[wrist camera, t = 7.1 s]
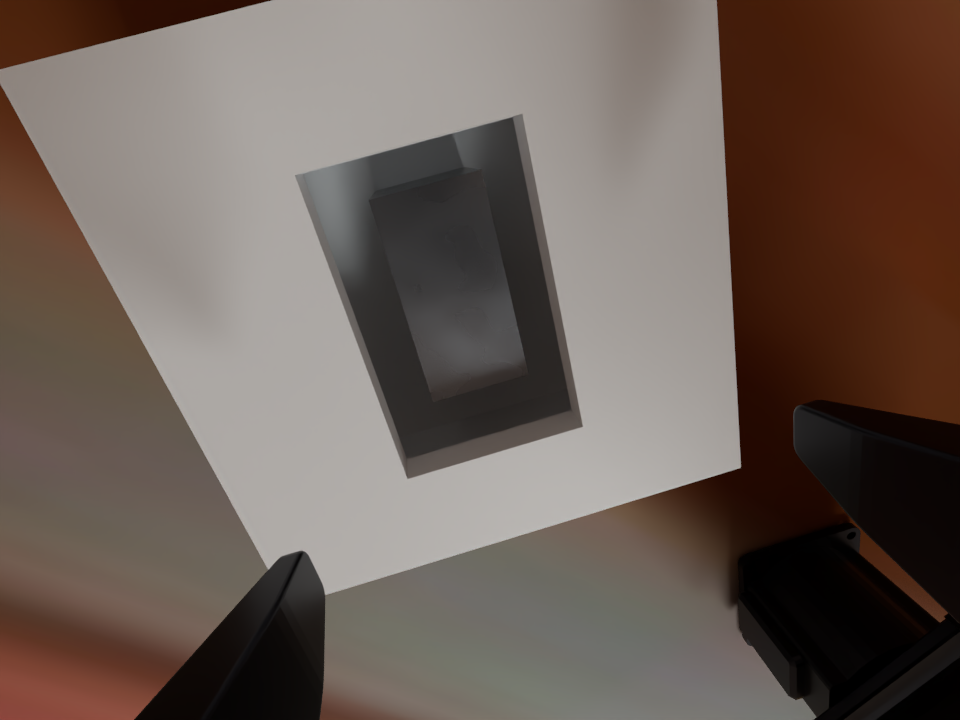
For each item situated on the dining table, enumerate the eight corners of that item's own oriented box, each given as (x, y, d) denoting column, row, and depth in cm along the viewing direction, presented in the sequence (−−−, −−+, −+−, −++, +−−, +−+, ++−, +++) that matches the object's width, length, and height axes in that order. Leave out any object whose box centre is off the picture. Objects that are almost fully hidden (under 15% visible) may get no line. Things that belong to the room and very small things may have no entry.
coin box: (588, -6, 16) (710, -112, 10) (640, 376, 22) (741, 467, 15) (158, 106, 16) (-7, 71, 9) (321, 470, 21) (288, 606, 15)
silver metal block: (463, 167, 17) (481, 169, 13) (503, 333, 19) (528, 374, 15) (375, 190, 17) (368, 200, 13) (426, 355, 19) (433, 402, 15)
